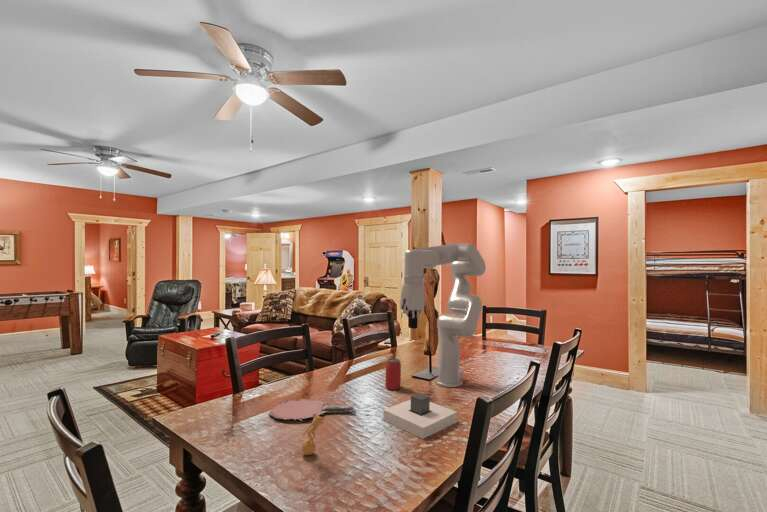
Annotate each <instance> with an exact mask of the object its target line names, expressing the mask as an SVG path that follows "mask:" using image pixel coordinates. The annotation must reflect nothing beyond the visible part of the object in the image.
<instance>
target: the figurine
mask: <svg viewBox="0 0 767 512" xmlns="http://www.w3.org/2000/svg"><path fill="white" fill-rule="evenodd" d="M312 418H313V419H312V420H313V421H311V423H310V425H309V426H308V428H307V429H306V430H304V432H303V434H302V437H304V436H305V435H306V434H307V435H308V438H309V439H306V440H304V441H303V442H302V444H301V452H302V454H304V455H305V456H311V455H313V454H314V453H315V451H316V447H317V446H316V445H317V444H316V442H315V441H314V439H315V437H316V433H315V432H316V431H317V430H318V428H319V425H323V423H324V421H325V417H323V416H320V415H317V414H316V413H314V414H313V417H312ZM311 434H312V435H311Z"/></svg>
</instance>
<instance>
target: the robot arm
mask: <svg viewBox="0 0 767 512" xmlns="http://www.w3.org/2000/svg"><path fill="white" fill-rule="evenodd" d="M479 251H480V250H479V249H478V248H477V247H476V246H475V245H474V244H473V243H469V242H463V243H462V242H460V243H459V242H457V243H456V242H455V243H448V244H442V245H434V246H430V247H421V248H414V249H407V250H406V251H405V252H404V278H403V281H404V283H403V284H402V287H401V292H400V293H401V294H400V303H399V305H400V310H403V311H402V314H403V315H407V318H408V328H409V329H413V330H415V329H418V319H419V317H420V314H422V313H423V311H424V309H425V307H426V306H425V305H426V295H425V294H426V291H425V285H424V281H425V280H424V279H425V278H424V276H425V273H424V271H425V270H424V269H433V268H434V269H435V268H436V267H437V266H442V265H443V266H444V265H448V264H449V265H450V266H449V268H450V272H451V277H452V288H451V290H450V294H449V296H448V300H447V303H446V309H447V311H448V312H449V313H448V312H445V313H441V314H440V315H439V316H438V317H437V321H436V327H437V332H438V333H437V335H438V360H437V361H438V363H437V364H438V368H437V369H438V370H437V371H438V372H437V377H435V378H434V383H435V384H436V385H438V386H440V387H445V388H458V387H461V386H463V384H464V383H463V379H461V377H463V376H464V375H465V372H464V371H463V370H461V371H460V365H461V364H460V363H461V362H460V359H461V356H460V355H461V344H460V340H459V339H458V337H460V338H461V337H462V338H463V337H464V338H471V337H472V336H474V334H475V333H476V330H477V326H478V322H479V321H480V320H479V319H480V316H481V313H482V307H483V306H482V305H483V303H482V299H481V297H480V296H478V295H476V294H470V293H471V289H472V287H471V284H470V282H469V280H468V278H467V277H466V276H470V277H471V276H473V277H481V276H483V275H484V274H485V273H486V267H487V266H486V263H485V260H484V257H483V256H482V254H481V252H479Z"/></svg>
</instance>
